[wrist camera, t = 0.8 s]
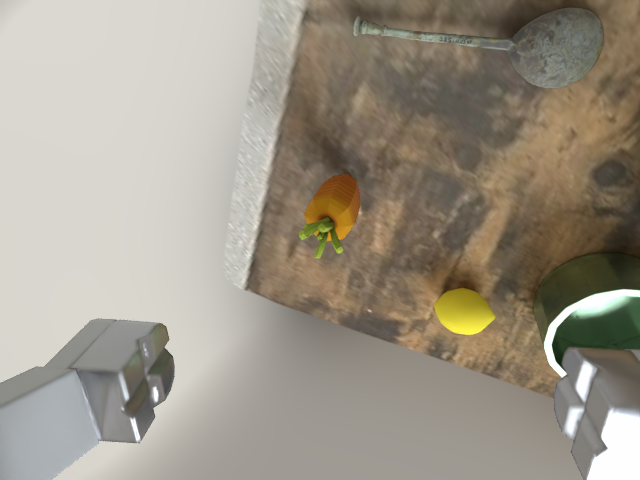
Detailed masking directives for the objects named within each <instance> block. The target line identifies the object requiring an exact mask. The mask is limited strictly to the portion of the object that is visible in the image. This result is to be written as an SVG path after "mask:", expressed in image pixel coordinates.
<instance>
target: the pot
mask: <svg viewBox="0 0 640 480" xmlns="http://www.w3.org/2000/svg"><path fill="white" fill-rule="evenodd" d="M533 310H534V314H535V318H536V321H537V325H538V328H539V332H540V336H541V339H542V343H543V347H544V350H545V354H546V357H547V361H548V363H549V365H550V366H551V367H552V368H553V369H554V370H555V371H556V372H557V373H558V374H559V375H560V376H561V377H563V376H565V375H566V372H565V370H564V368H563V366H562V364H561V363H562V360H563V356H564V353H565V351H566V350H567V349H568V347H578V348H596V349H615V350H625V349H638V350H640V258H637V257H635V256H631V255H627V254H621V253H610V252H605V253H594V254H588V255H584V256H580V257H577V258H574V259H572V260H569V261H567V262H565V263H563V264H562V265H560V266H558V267H557V268H555V269H554V270H553V271H552V272H550V273H549V274H548V275H547V276H546V277H545V278H544V280H543V281H542V282H541V284H540V285H539V287H538V289H537V291H536V294H535V297H534V306H533Z"/></svg>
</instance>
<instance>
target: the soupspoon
mask: <svg viewBox="0 0 640 480" xmlns="http://www.w3.org/2000/svg"><path fill="white" fill-rule="evenodd" d="M360 31H361V33H362V34H366V33H368V34H373V35H377V34H381V36H385V35H389V36H394V37H400V38H407V39H413V40H421V41H429V42H438V43H448V44H457V45H465V46H472V47H479V48H488V49H497V50H506V51H508V54H509V57H510V60H511V63H512V65H513V66H514V68H515V69H516V71H517V72H518V73H519V74H520V75H521V76H522V77H523V78H524V79H525V80H526V81H528V82H529V83H531V84H533V85H536V86H538V87H541V88H562V87H566V86H568V85H571V84H573V83H574V82H576V81H578V80H579V79H581V78H582V77H583V76H584V75H586V74H587V72H588V71H589V70H590V69H591V68H592V67H593V65H594V64H595V62H596V61H597V59H598V57H599V55H600V52H601V49H602V46H603V39H604V38H603V37H604V33H603V26H602V23H601V21H600V19H599V18H598V17H597V15H595V14H594V13H593V12H591V11H588V10H586V9H582V8H573V7H572V8H562V9H558V10H554V11H551V12H548V13H546V14H544V15H542V16H540V17H538V18H536V19H534V20H533V21H531V22H530V23H528V24H527V25H525V26H524V27H523V28H522V29H520V30H519V31H518V32H517V33H516V34H515V35H514V36H513V37H512V38H491V37H477V36H467V35H466V36H465V35H456V34H444V33H429V32H419V31H411V30H403V29H391V28H388V27H387V26H386V25H384V26H379V25H378V24H376V23H368V22H367V21H366V20H365V21H363V22H362V21H361V17H360V16H357V17H356V19H355V22H354V29H353V33H354V36H357V35H358V34H359V32H360Z"/></svg>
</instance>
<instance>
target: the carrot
mask: <svg viewBox="0 0 640 480" xmlns="http://www.w3.org/2000/svg"><path fill="white" fill-rule="evenodd" d="M359 208H360V193H359V189H358V185H357V181H356V179H355V178H353V177H352V176H350V175H348V174H343V175H338V176H333V177H332V178H330V179H328V180H327V181H326V182H324V183H323V185H322V186H321V187H320V188H319V190H318V191H317V193H316V194H315V196H314V197H313V199H312V201H311V202H310V204H309V206H308V207H307V209H306V211H305V213H304V216H305V219H306V222H307V224H306V225H304V226H303V230H301V231H300V232H299V237H300V238H301V239H305V238H307V237H309V236H310V235H312V234H314V235H316V236H317V239H319V240H320V242H319V245H318V247H317V249H316V252H315V255H314V257H315V258H320V257H321V255H322V253H323V250H324V247H325V244H326V241H331V240H332V244H333V246H334V248H335V250H336V252H337V253H341V252H343V248H342V246H341V244H340V242H339V239H343V238H345V236H346V235H347V233H348V232H349V231H350V229H351V228H352V226H353V225H354V223H355V222H356V219H357V215H358V212H359Z"/></svg>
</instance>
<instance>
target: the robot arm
mask: <svg viewBox="0 0 640 480" xmlns="http://www.w3.org/2000/svg"><path fill="white" fill-rule="evenodd" d="M168 341H169V336H168V332H167V328H166V326H165V325H163V324H161V323H153V322H141V321H128V320H113V319H94V320H91V321H90V322H89V323H88V324H87V325H86V326H85V327H84V328H83V329H82V330H81V331H79V333H77V334H76V336H75V337H73V338H72V339H71V340H70V341H69V342H68V343H67V345H65V346H64V347H63V348H62V349H61V350H60V351H59V352H58V353H57V354H56V355H55V356H54V357H53V358H52V359H51V360H50V361H49V362H48V363H47V364H46V365H45V366H44V367H34V368H32V369H30V370H28V371H26V372H23V373H21V374H19V375H17V376H15V377H12V378H10V379H8V380H6V381H4V382H1V383H0V480H52V479H53V478H54V477H56V476H57V475H58V474H60V473H61V472H62V471H63V470H65V469H66V468H67V467H69V466H70V465H71V464H73V463H74V462H75V461H76V460H78V459H79V458H80V457H82V456H83V455H84V454H86V453H87V452H88V451H89V450H91V449H92V448H93V447H95V446H96V445H97V444H99V441H110V442H111V441H112V442H127V443H140V442H141V440H142V438H143V437H144V435H145V434H146V432H147V430H148V428H149V427H150V425H151V423H152V422H153V420H154V418H155V414H154V410H153V408H154V407H155V406H157V405H159V404H160V403H162V402H163V401H165V399H166V398H167V396H168V394H169V392H170V390H171V387H172V383H173V379H174V360H173V356H172V355H171V354H170V353H169V352H168V351H167V350H166V349H165V348H164V347H165V345H166V344H167V342H168ZM561 364H562V366H563V368H564V370H565V372H566V375H565V376H563V377H562V378H561V379H559V380H558V381H557V382H556V387H555V392H554V411H555V414H556V419H557V422H558V424H559V427H560V429H561V431H562V432H563V433H564V434H565V435H566V436H568V437H569V438H570V439H571V440H573V441H574V443H573V446H572V450H571V453H572V456H573V458H574V460H575V462H576V464H577V467H578V469H579V471H580V473H581V475H582V477H583V480H640V350H638V349H625V350H615V349H596V348H578V347H568V349H567V350H566V351H565V353H564V356H563V360H562V363H561Z"/></svg>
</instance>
